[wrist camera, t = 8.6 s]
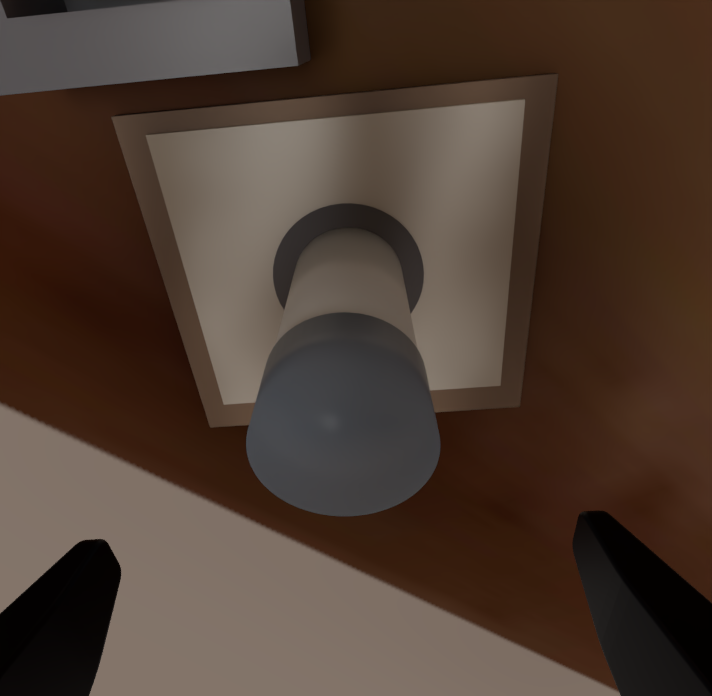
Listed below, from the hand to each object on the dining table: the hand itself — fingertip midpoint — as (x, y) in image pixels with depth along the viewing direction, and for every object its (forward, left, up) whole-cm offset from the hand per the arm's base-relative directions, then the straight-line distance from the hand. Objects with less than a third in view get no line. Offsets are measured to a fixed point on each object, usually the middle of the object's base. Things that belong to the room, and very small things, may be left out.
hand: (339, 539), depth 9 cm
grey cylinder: (0, 0, -11) cm, 11 cm away
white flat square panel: (0, 0, -12) cm, 12 cm away
